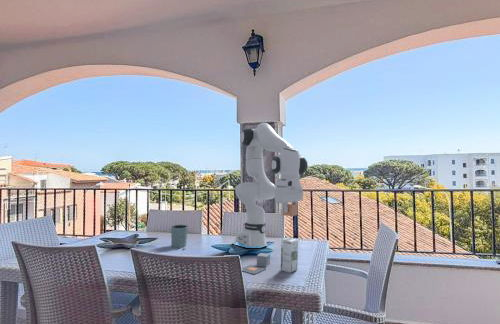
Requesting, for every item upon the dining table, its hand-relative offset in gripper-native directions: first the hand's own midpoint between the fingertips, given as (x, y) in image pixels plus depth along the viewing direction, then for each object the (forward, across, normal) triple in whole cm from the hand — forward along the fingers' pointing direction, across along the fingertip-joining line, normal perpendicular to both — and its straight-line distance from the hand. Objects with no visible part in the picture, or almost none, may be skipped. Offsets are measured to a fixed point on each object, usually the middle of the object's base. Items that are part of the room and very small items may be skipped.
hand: (289, 211), depth 140 cm
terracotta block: (+2, 0, 0) cm, 2 cm away
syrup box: (+28, 0, 0) cm, 28 cm away
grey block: (+28, +1, -14) cm, 31 cm away
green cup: (+28, +5, -73) cm, 78 cm away
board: (+27, +10, -14) cm, 32 cm away
